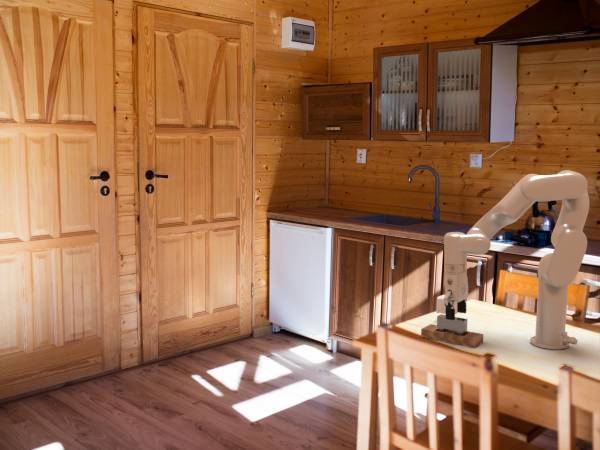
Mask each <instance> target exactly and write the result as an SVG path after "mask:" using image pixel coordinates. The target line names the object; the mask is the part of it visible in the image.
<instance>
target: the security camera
mask: <svg viewBox="0 0 600 450" xmlns="http://www.w3.org/2000/svg"><path fill="white" fill-rule="evenodd" d="M444 297H445V294H442V295H440V296H439V295H438V296H437V297H436V306H435V307H436V309H435V313H436V314H442V315H446V308H445V304H444V303H445V302H444ZM452 300H453V299H452ZM450 303H451V302H450ZM451 305H452V303H451ZM454 309H455V315H456V314H458V312H457V302H455V305H454Z"/></svg>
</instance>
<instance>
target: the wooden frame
mask: <svg viewBox="0 0 600 450" xmlns="http://www.w3.org/2000/svg"><path fill="white" fill-rule="evenodd" d="M420 337H421V338H423V337H425V338H424V339H428V338H429V340H435V341H440V342H442V343H443V342H444V343H449V344H454V345H459V346H462V347H463V346H464V347H468V348H473V349H475V348H477V347H478V346H480V345H482V344H483V343H484V334H483V333H479V332H474V331H469V330H467V331H466V333H465V336H461V335H457V331H454V330H449V329H447V332H440V331H438V327H437V324H431V323H430V324H428V325H426V326H424V327H423V328H421V330H420Z"/></svg>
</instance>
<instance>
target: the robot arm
mask: <svg viewBox="0 0 600 450" xmlns="http://www.w3.org/2000/svg"><path fill="white" fill-rule="evenodd" d="M588 187H589V186H588V181H587V179H586V177H585V176H584V174H582V173H579V172H577V171H573V170H569V169H565V170H561V171H559V172H558V173H556V174H545V175H542V174H541V175H539V174H537V173H529V174H526V175H525V176H523V177H522V178H521V179H520V180H519V181H518V182H517V183H516V184H515V185H514V186H513V187H511V190H509V191H508V193H506V195H504V197H503V198H502V199H500V201H499V202H497V204H496V205H494V206H493V207H492V208H491V209H490V210H489V211H488V212H486V213H485V214H484V215H483V216H482V217H481V218H480V219H479V220H478V221H477V222H476V223H475V224H474V225H473V226H472V227H470V229H469V230H468V232H467V233H466V234H465V233H464V232H461V231H460V232H459V231H451V232H450V231H449V232H446V233H445V234H444V237H443V245H444V246H443V247H444V249H443V251H444V256H443V257H444V258H443V259H444V265H443V266H444V273H445V279H444V295H445V297H444V302H445V303H444V304H445V308H446V314H445V315H446V319H448V320H455V317H456V314H455V309H454V305H455V302H457V312H458V313H460V314H467V301H468V300H467V298H468V297H469V282H468V281H469V280H468V275H467V274H468V270H467V269H468V267H467V260H468V259H467V258H468V257H467V255H468V254H469V255H473V256H474V255H475V256H476V255H478V256H481V255H485V254H486V253H488V252H489V250H490V249H491V239H492V238H493V237H494V236H495V235H496V234H497V233H498V232H499V231H501V229H503V228H505V227H506V226H508V225H512V224H513V223H515V222H517V221H518V220H519V219H520V218H521V217H523V216H524V215H525V212H527V211H528V210H529V209H530V207H532V206H533V205H534V204H535V203H536V202H551V201H552V202H553V201H560V200H561V208H560V211H559V214H558V218H557V221H556V223H555V226H554V228H553V231H552V233H551V237H550V241H551V244H552V245H553V247H554V248H553V249H554V250H553V253H547V254H545V255H544V256H542V257H541V259H540V260H539V263H538V267H537V301H536V302H537V304H536V316H535V317H536V320H535V322H536V323H535V334H534V336H532V337H530V341H529V342H530V344H531V345H532V346H535V347H538V348H542V349H545V348H546V350H565V349H567V348H569V347H570V344H571V345H575V346H577V345H578V342H579V341H578V339H577V338H576V337H574V336H573V337H572V336H569V335H568V332H569V331H566V324H567V322H566V321H567V311H568V310H567V308H568V306H567V305H568V296H569V295H568V292H569V290H568V289H569V288H568V286H570V285H571V284H573V283H574V281H575V280H576V278H577V275H578V273H579V271H580V268H581V265H582V263H583V260H584V257H585V254H586V252H587V248H588V238H587V236H586V234H585V232H584V231H583V230H584V227H585V224H586V221H587V218H588V214H589V212H590V211H589V210H590V197H589V196H590V195H589V194H588V193H589V192H588ZM452 299H453V300H452ZM450 302H451V303H452V305H451V303H450ZM458 313H457V314H458Z"/></svg>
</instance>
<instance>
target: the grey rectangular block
mask: <svg viewBox="0 0 600 450" xmlns="http://www.w3.org/2000/svg"><path fill="white" fill-rule="evenodd" d="M436 325H437V327H438V331H440V332H447V329H449V330H454V331H457V335H461V336H465V333H466V331H468V318H463V317H459V316H458V317H457V316H455V320H448V319H446V314H442V313H440V314H438V315H437V316H436Z"/></svg>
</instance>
